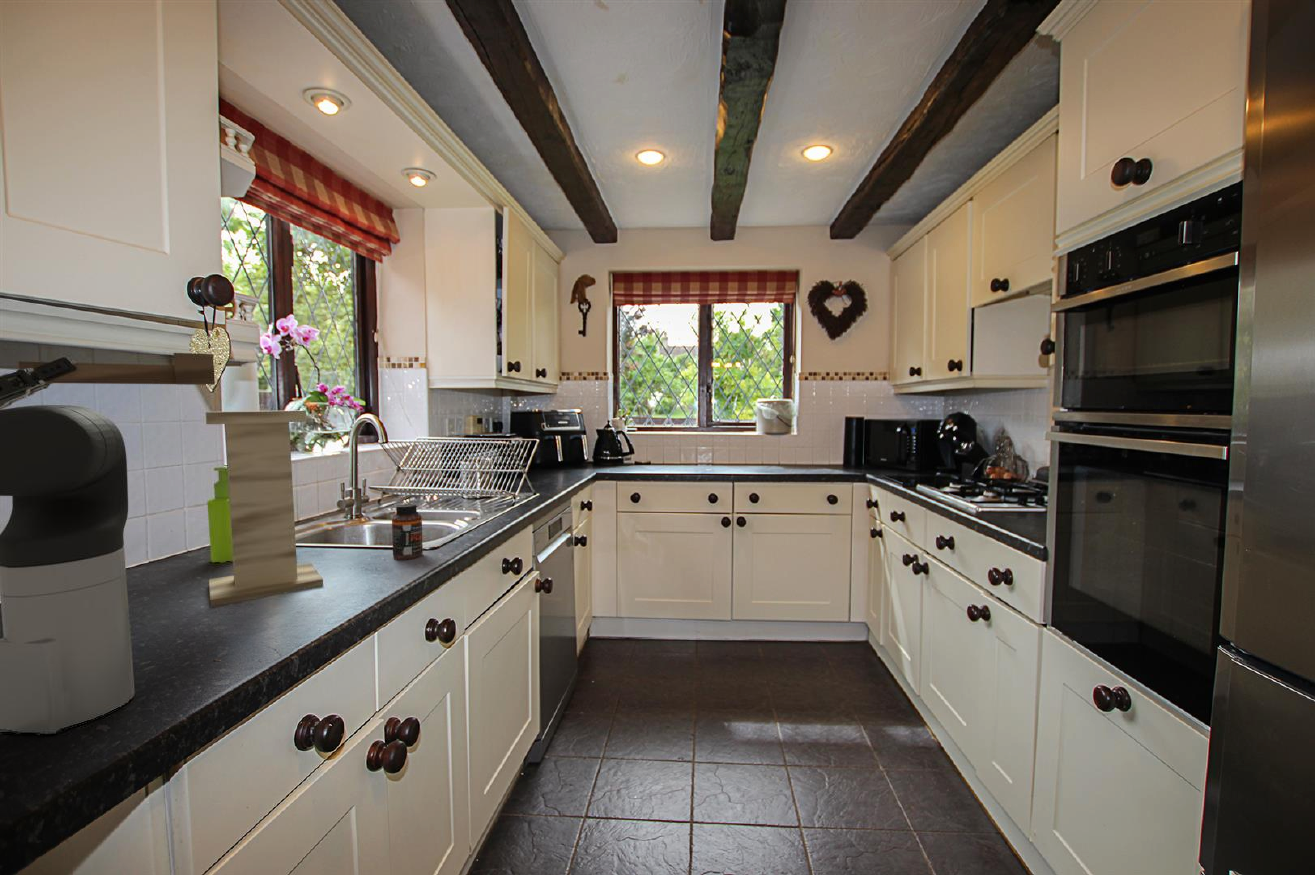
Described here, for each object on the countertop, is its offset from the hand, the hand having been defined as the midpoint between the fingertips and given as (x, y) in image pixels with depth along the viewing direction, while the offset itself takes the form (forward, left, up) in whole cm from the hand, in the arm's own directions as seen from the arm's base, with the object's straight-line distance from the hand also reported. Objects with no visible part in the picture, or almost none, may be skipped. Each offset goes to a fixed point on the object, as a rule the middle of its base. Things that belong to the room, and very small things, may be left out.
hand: (73, 363), depth 84 cm
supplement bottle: (+36, -32, -40) cm, 62 cm away
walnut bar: (+4, -4, -3) cm, 6 cm away
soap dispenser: (+32, +6, -40) cm, 51 cm away
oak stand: (+16, -16, -40) cm, 46 cm away
